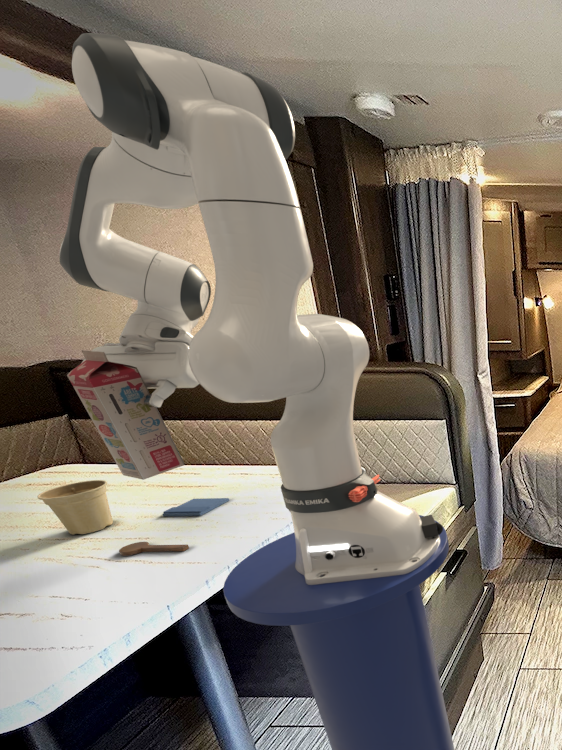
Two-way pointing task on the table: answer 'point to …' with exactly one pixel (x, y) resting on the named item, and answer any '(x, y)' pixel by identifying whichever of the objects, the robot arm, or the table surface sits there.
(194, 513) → the cloth
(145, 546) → the wooden spoon
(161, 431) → the juice carton
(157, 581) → the table surface
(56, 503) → the flower pot
